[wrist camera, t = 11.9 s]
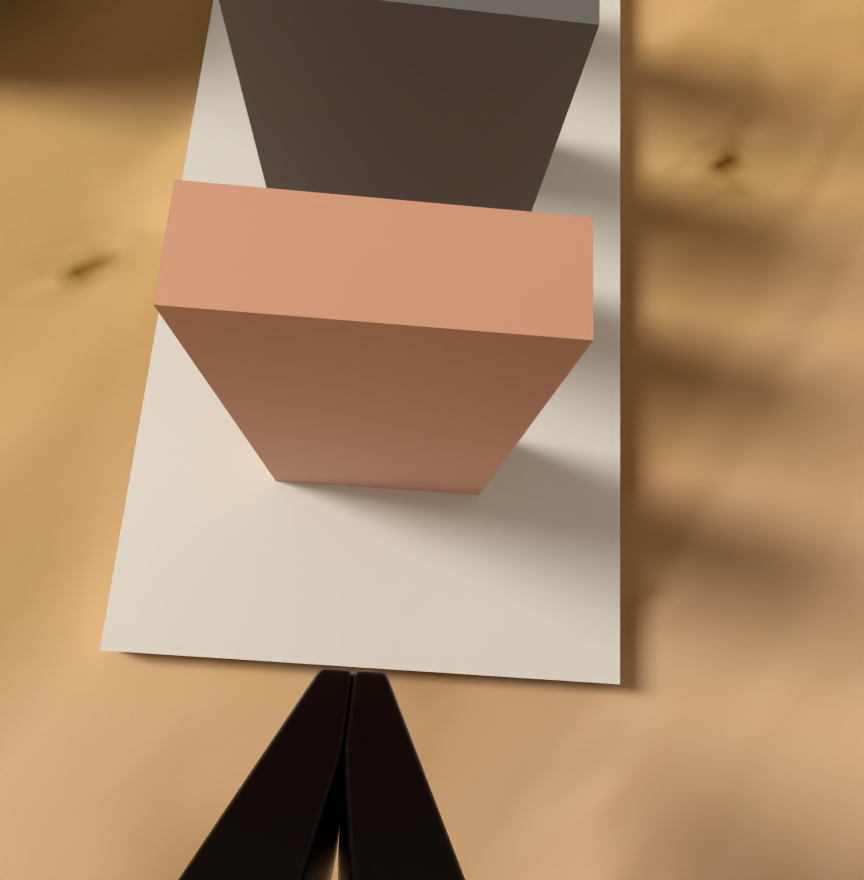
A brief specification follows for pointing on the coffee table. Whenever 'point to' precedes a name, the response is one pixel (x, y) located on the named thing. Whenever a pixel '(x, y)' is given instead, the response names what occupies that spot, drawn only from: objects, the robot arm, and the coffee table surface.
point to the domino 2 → (375, 327)
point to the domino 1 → (410, 93)
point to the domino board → (381, 509)
